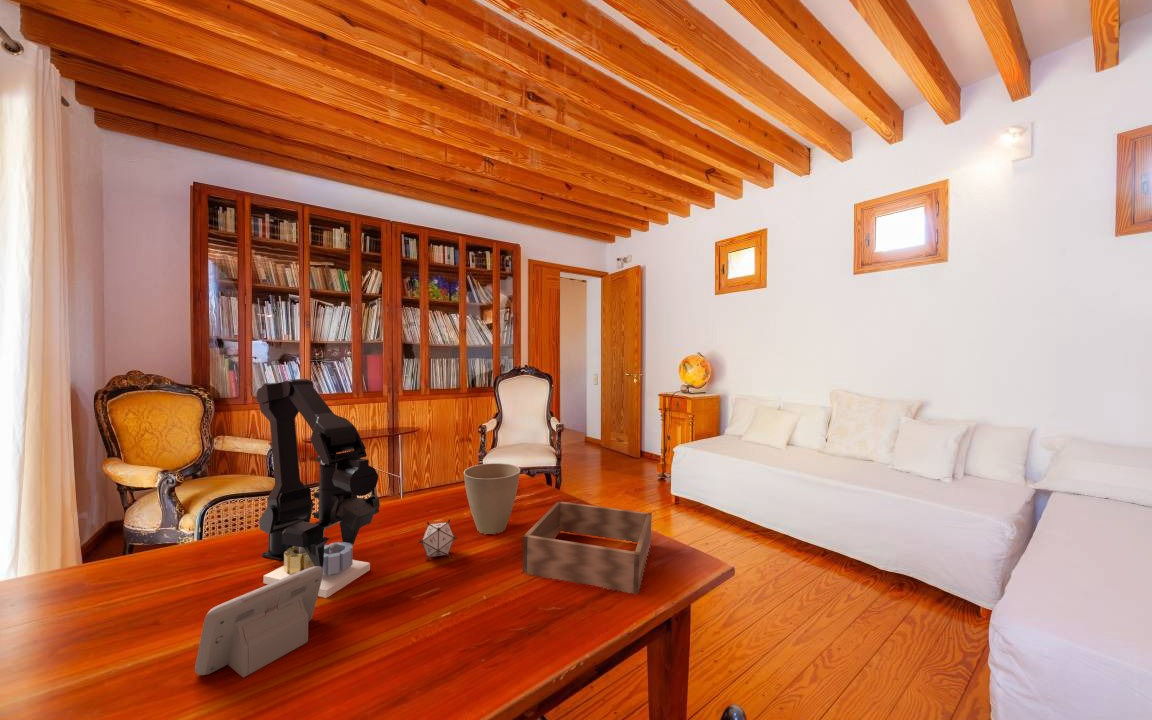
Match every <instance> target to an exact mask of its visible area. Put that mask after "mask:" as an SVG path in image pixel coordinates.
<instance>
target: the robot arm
mask: <svg viewBox="0 0 1152 720" xmlns="http://www.w3.org/2000/svg"><path fill="white" fill-rule="evenodd" d="M256 400H257V403H258V405H259V409H260V413H261V414H262V415H263V416H264V417H265V418H266V419H267V420H268V421H269V425H270V438H271V440H270V441H271V448H272V449H271V451H272V463H273V465H272V466H273V474H274V475H273V477H274V486H273V488H272V489H271V492H270V493H269V495H268V496H267V507H266V508H265V509H264V512H263V513H262V515H261V517H259V519H258V523H259V530H260V531H262V532H264V533H266V534H268V546H267V547H268V549H267V551H263V552H262V553H261V557H265V558H269V559H275V560H278V561H284V553H285V551H286V550H288V549H289V548H290V547H293V546H297V547H302V548H304V549H305V551H306V552H307V554H308V555H309V557H310V559H311V560H312V562H313V564H314V566H315V567H316V566H321V567H322V568H323V561H324V546H325V545H326V543H327V542H328V541H329V540H330V537H326V536H325V531H326V529H328V528H331V527H333V526H335V525H337V524H339V528H340V535H341V540H342V541H341V543H342V542H347V543H351V544H353V546H354V544H355V542H356V539H357V537H358V533H359V531H360V530H361V528H363V527H365V526H367V525H370V524H372V521H373V518H374V516H375V515H377V514H379V513H380V507H381V506H380V497H379V496H378V495H376V494H373V495H371V496H369V497H367V498H365V497H363V496H367V495H369V494H371V492H372V491H374V489H375V488H376V486H377V485H378V481H379V474H378V472H377V470H376V468H374V467H373V466H371V465H370V461H369V459H367V456H368V455H367V451H366V450H367V448H366V446H365V444H364V443H363V440H362V438H361V436H360V433H359V431H358V429H357V428H356V426H355V425H354V424H353V423H352V422H351V421H349V420H348V419H347V418H345V417H343V416H340V415H337V414H335V413H334V412H333V411H332V410H331V408H330V407H329V405H328V404H327V403H326V401H325V400H324V399H323V398H322V396H321V395H320V394H319V392H318V391H317V390H316V389H315V387H314V383H313V381H312V380H311V379H308V378H295V379H293V378H292V379H291V378H289V379H287V380H283V381H282V382H265V383H263V384H262V386H261V387H260V388H258V389H257V390H256ZM298 414H300V415H301V416H302V417H303V419H304V420H305V422H306V423H307V425H308V426H309V427H310V429H311V431H312V432H311V435H310V442H311V443H312V447H313V449H314V451H315V452H316V455H318V456H316V457H315V462H316V463H318V464H319V471H318V472H319V473H318V476H319V478H318V480H319V481H318V491H315V492H314V493H313V498H314V499H318V511H315V512H313V509H314V502H313V501H314V500H313V498H312V489H311V487H310V486H306V484H304V483H303V482H302V480H301V473H300V463H299V462H300V461H299V450H298V440H297V437H298V436H297V429H296V428H297V426H296V417H297V416H298ZM312 513H313V518H314V519H318V521H316V522H311V517H312Z"/></svg>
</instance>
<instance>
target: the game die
mask: <svg viewBox="0 0 1152 720" xmlns="http://www.w3.org/2000/svg"><path fill="white" fill-rule="evenodd" d="M450 522H451V518H449V519H448V520H447V521H446V522H443V521H442V522H434V523H430V522H429V521H428V520H426V525H427V527H426V529H425V531H424V534H423V537H422V539H419V540H418V543H419V544H421V545H422V546H423V549H424V551H425V554H426V558H425V561H428V559H429V558H433V557H441V556H442V557H444V556H447V558H451V555H450V554H449V553H450V551H451V548H452V545H453V544H454V541H455V540H457V539H458V536H456V535H454V533H453V531H452V528H451V526H450Z"/></svg>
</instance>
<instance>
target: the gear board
mask: <svg viewBox="0 0 1152 720" xmlns="http://www.w3.org/2000/svg"><path fill="white" fill-rule="evenodd" d="M303 553H306V551H305V549H304V548H302V547H299V554H303ZM334 553H339V545H338V544H332V545H331V546H330V548H329V554H334ZM370 570H371V562H367V561H362V560H356V559H352V565H351V567H350V568H348V569H346V570H345V571H339V573H336V574H331V575H328V573H327V574H325V575H323V576H322V581H321V585H320V589H319V593H318V597H320V598H324V599H327V598H329V597H331V596H332V595H333V594H335V593H336V592H338V591H339V590H341V589H343V588H344V587H346V586H347V585H349V584H351V583H352V582H354V581H355V580H357V579H358V578H360V577H361V576H363V575H364V574H366V573H368V572H369V571H370ZM290 575H293V574H290V573H286V572H285V571H284V565H282V566H279V567H278V568H276V569H275V570H272V571H270V572H269V573H266V574H263V582H262V583H263V584H266V585H268V584H271V583H273V582H276V581H278V580H280V579H283V578H285V577H288V576H290Z"/></svg>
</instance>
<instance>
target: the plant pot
mask: <svg viewBox="0 0 1152 720" xmlns="http://www.w3.org/2000/svg"><path fill="white" fill-rule="evenodd" d="M520 475H521V468H520V467H518V466H517V465H515V464H510V463H509V464H508V463H501V462H500V463H498V462H497V463H495V462H494V463H493V462H492V463H481V464H477V465H472V466H470V467H468V468H465V469H464V471H463V480H464V485H465V486H464V487H465V491H466V497H467V501H468V505H469V508H470V512H471V515H472V518H473V521H474V523H475V527H476V529H477V532H478V531H479V532H478V533H479V534H482V533H484V534H483V535H486V534H493V535H497V534H496V533H498V534H501V533H503V532H504V531H506V528H507V525H508V522H509V521H510V518H511V514H512V511H513V508H514V504H515V500H516V496H517V492H518V486H519V481H520ZM500 532H501V533H500Z"/></svg>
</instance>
